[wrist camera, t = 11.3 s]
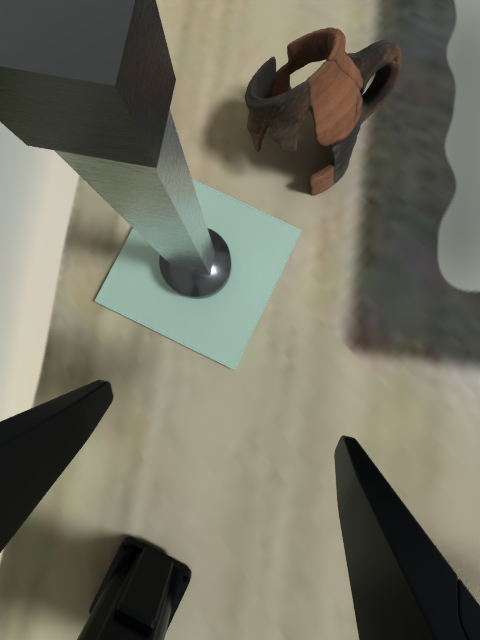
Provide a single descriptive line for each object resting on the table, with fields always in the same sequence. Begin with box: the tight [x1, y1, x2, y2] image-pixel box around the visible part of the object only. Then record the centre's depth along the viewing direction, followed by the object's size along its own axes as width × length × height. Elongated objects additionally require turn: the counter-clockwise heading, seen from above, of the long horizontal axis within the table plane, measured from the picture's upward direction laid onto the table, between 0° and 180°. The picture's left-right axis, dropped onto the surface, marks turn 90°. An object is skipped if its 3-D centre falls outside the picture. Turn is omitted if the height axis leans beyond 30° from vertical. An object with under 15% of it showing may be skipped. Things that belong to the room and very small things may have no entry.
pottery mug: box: [245, 28, 401, 195], centre depth 19 cm, size 12×10×8 cm
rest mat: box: [95, 179, 302, 370], centre depth 20 cm, size 14×14×1 cm
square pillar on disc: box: [0, 0, 232, 299], centre depth 12 cm, size 6×6×16 cm
